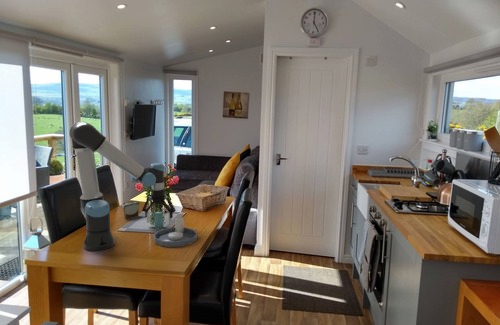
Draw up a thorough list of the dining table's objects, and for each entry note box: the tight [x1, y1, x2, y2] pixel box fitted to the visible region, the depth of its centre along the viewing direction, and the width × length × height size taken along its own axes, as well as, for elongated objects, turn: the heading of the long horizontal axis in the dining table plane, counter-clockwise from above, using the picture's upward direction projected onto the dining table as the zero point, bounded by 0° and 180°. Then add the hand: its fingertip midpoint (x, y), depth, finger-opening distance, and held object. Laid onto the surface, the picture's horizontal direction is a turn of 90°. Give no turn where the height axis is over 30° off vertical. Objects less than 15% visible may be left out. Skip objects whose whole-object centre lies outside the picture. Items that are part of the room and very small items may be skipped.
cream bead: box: [174, 216, 185, 234], centre depth 219 cm, size 5×5×9 cm
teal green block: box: [154, 211, 164, 229], centre depth 231 cm, size 5×5×9 cm
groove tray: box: [152, 226, 199, 248], centre depth 212 cm, size 24×24×3 cm
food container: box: [121, 200, 141, 220], centre depth 250 cm, size 12×6×10 cm, turn 141°
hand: (159, 222), depth 231 cm, fingers open, 13 cm apart
